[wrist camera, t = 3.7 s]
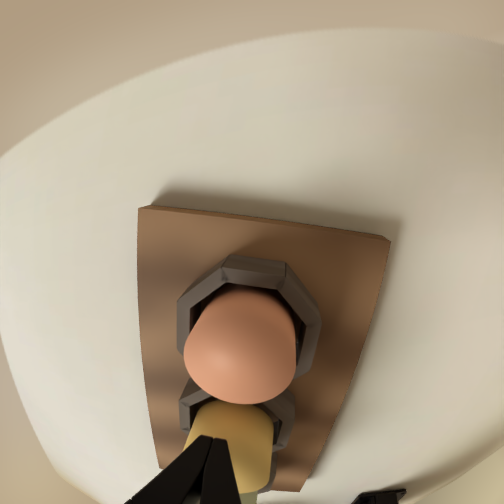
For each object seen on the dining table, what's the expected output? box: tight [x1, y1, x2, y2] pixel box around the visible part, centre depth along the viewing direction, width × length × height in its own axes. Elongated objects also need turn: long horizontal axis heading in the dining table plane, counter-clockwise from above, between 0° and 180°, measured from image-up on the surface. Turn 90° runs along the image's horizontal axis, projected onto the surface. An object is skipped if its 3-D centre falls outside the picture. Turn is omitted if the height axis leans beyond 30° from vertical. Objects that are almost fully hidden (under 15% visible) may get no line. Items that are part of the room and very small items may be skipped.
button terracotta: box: [184, 283, 296, 404], centre depth 14 cm, size 5×5×4 cm
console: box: [137, 205, 391, 494], centre depth 18 cm, size 25×14×4 cm, turn 173°
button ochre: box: [183, 400, 274, 494], centre depth 14 cm, size 5×5×4 cm
